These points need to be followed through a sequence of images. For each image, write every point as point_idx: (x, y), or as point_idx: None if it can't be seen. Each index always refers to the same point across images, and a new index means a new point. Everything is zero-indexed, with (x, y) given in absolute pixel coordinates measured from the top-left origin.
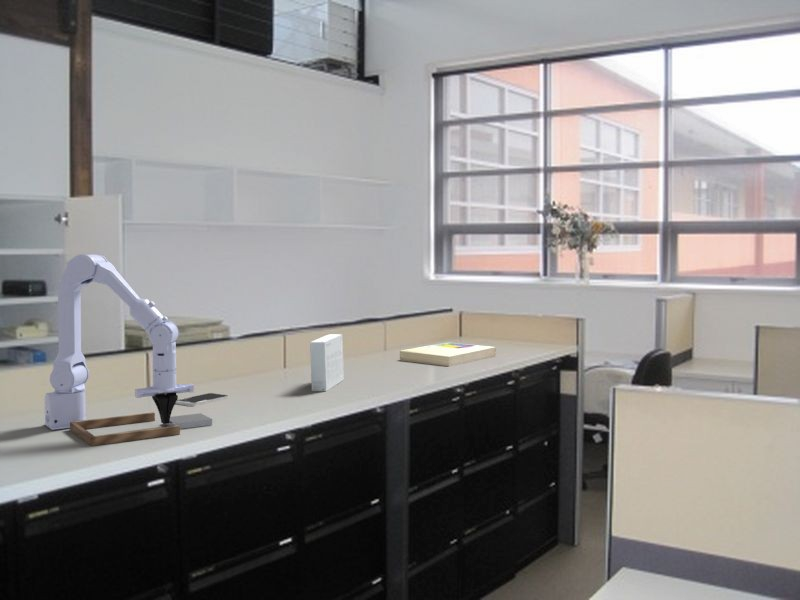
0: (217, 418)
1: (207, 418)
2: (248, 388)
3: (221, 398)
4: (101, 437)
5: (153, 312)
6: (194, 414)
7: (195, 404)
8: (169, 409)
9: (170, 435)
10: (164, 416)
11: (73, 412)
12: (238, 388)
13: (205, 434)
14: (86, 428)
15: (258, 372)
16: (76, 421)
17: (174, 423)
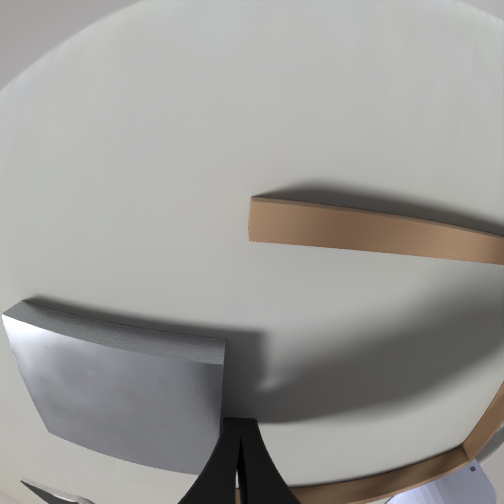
0: (9, 381)
1: (18, 341)
2: (4, 478)
3: (29, 482)
4: None
5: None
6: (71, 438)
7: (77, 498)
8: (222, 483)
9: (323, 204)
10: (260, 449)
11: (456, 492)
12: (18, 488)
13: (112, 96)
14: (440, 456)
15: (13, 498)
16: (460, 467)
17: (219, 366)
